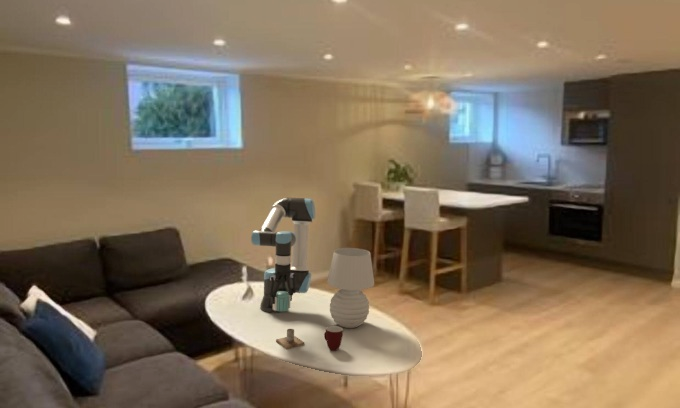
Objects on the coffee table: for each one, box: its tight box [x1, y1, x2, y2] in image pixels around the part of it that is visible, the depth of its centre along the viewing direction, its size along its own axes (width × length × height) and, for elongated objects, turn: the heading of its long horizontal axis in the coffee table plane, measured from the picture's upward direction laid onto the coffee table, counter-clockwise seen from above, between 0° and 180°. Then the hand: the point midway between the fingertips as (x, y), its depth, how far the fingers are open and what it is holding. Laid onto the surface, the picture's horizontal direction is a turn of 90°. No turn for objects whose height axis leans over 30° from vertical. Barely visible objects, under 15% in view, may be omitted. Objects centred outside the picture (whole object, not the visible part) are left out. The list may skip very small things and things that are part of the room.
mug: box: [323, 325, 344, 352], centre depth 245 cm, size 11×8×10 cm
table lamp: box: [326, 247, 375, 329], centre depth 275 cm, size 25×25×40 cm
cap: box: [276, 291, 290, 312], centre depth 254 cm, size 7×7×8 cm
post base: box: [275, 328, 305, 350], centre depth 249 cm, size 10×10×7 cm
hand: (281, 308), depth 254 cm, fingers closed on cap, 7 cm apart
